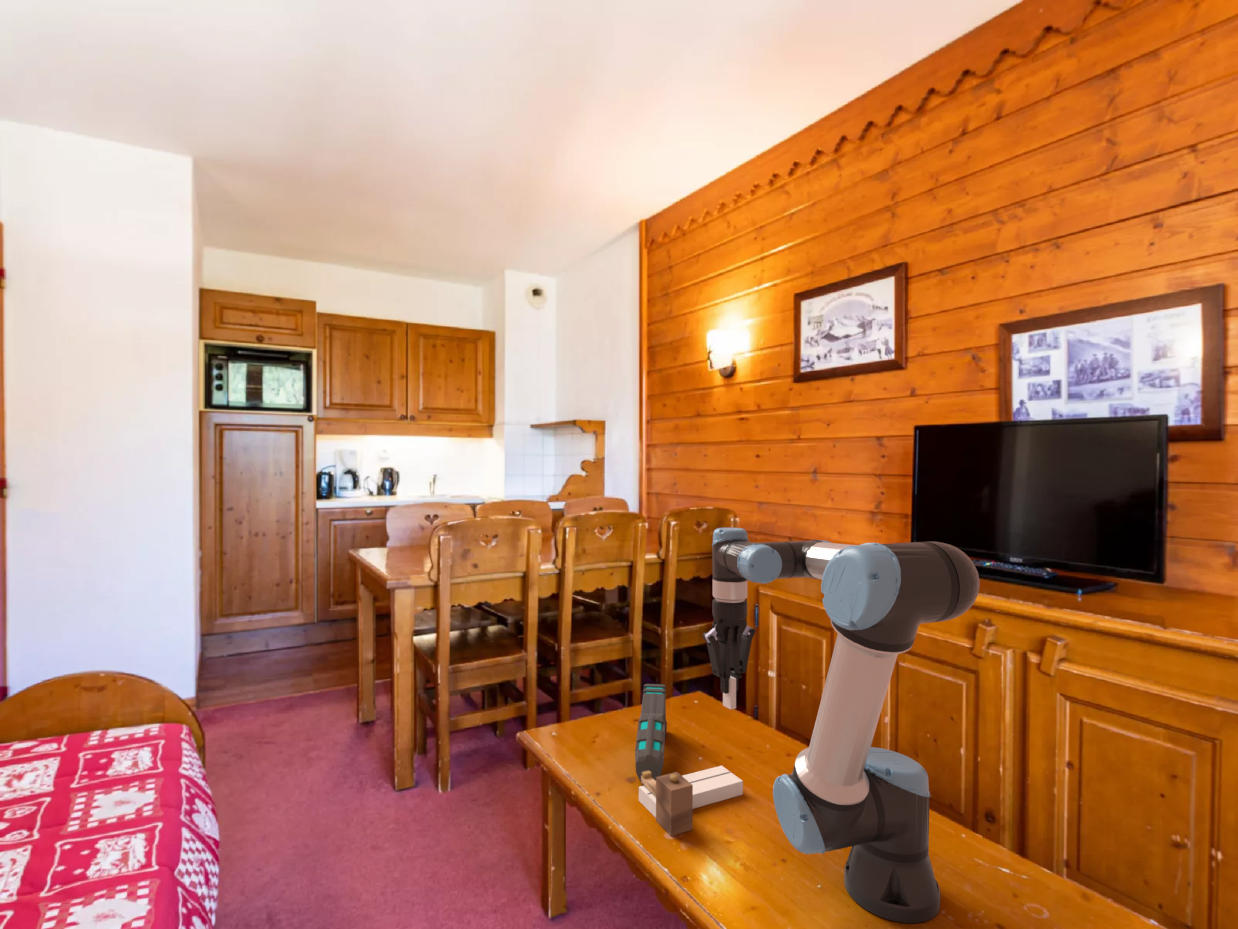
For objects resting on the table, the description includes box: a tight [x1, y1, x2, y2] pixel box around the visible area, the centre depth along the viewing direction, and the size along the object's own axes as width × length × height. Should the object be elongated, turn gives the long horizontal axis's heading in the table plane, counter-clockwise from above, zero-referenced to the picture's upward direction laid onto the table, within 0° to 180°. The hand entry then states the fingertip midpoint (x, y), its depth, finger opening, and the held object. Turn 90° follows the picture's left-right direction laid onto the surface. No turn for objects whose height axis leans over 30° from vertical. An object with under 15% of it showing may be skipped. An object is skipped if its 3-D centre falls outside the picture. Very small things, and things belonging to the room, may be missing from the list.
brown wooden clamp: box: [640, 770, 694, 837], centre depth 132 cm, size 15×5×10 cm, turn 27°
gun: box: [634, 683, 668, 783], centre depth 158 cm, size 7×29×15 cm, turn 173°
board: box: [638, 765, 744, 819], centre depth 139 cm, size 8×22×3 cm, turn 117°
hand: (729, 706), depth 137 cm, fingers closed
